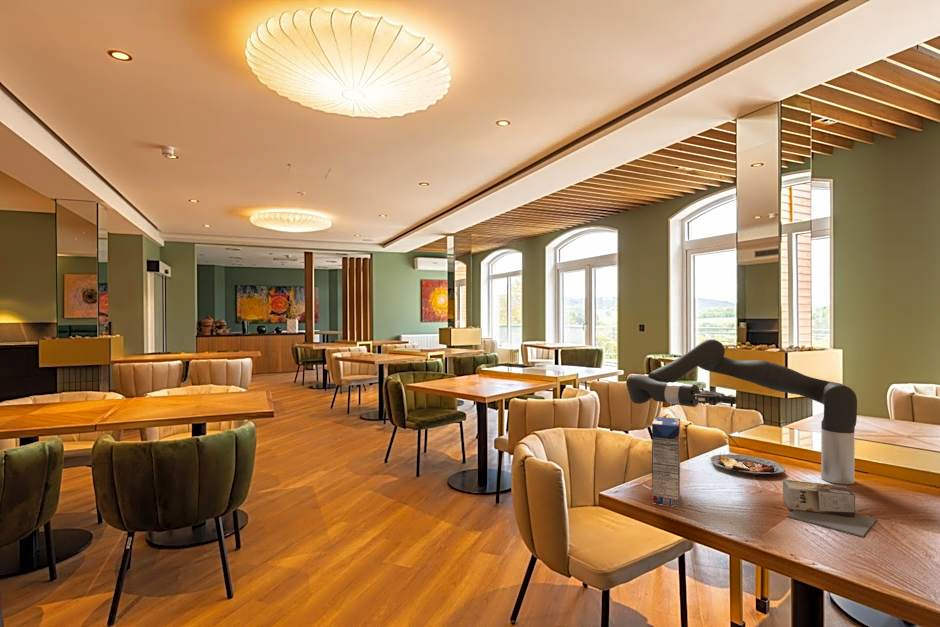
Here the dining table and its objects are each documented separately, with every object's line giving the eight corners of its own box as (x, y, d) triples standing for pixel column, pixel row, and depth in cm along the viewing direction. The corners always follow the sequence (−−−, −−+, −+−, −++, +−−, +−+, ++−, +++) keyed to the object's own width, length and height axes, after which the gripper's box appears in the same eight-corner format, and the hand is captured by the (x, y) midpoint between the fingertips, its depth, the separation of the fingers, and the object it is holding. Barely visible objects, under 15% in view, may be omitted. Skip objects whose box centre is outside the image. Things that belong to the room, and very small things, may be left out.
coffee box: (788, 509, 146) (856, 518, 139) (788, 487, 146) (855, 495, 139) (782, 499, 154) (845, 506, 148) (782, 478, 154) (845, 484, 148)
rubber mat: (804, 503, 152) (804, 501, 152) (876, 520, 139) (876, 519, 139) (787, 517, 141) (787, 515, 141) (863, 537, 128) (863, 535, 128)
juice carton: (654, 491, 161) (654, 416, 161) (679, 494, 158) (680, 418, 158) (651, 504, 150) (652, 423, 150) (678, 508, 147) (679, 426, 147)
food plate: (793, 481, 171) (793, 471, 171) (718, 475, 178) (718, 465, 178) (771, 463, 195) (771, 454, 195) (706, 458, 202) (706, 449, 202)
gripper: (672, 385, 168) (727, 390, 155) (690, 381, 176) (743, 386, 163) (672, 407, 168) (727, 415, 155) (690, 403, 176) (743, 409, 163)
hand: (735, 400), depth 159 cm, fingers closed
